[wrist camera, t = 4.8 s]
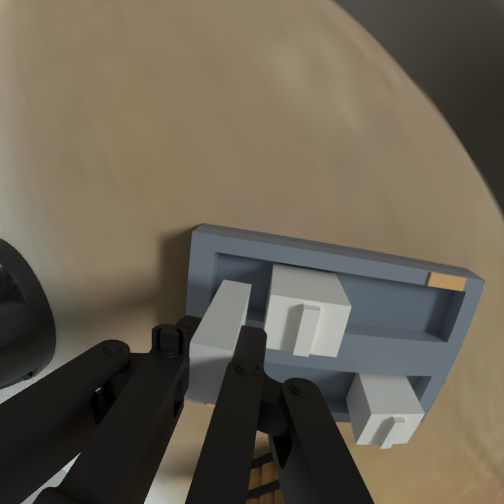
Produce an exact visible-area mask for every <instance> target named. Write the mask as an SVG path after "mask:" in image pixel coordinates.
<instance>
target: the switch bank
mask: <svg viewBox="0 0 504 504" xmlns="http://www.w3.org/2000/svg"><path fill="white" fill-rule="evenodd" d="M273 264H279V265H286V266H292V267H298V268H304V269H311V270H317V271H323V272H329V273H336V275H337V277H338V279H339V281H340V283H341V285H342V287H343V289H344V292H345V294H346V296H347V298H348V300H349V302H350V304H351V306H352V307H351V310H350V314H349V317H348V321H347V324H346V328H345V331H344V334H343V338H342V341H341V344H340V347H339V351H338V354H337V357H330V356H321V355H312V354H309V357H305V356H297V355H293V352H290V351H283V350H276V349H269V348H266V351H265V360H264V371H265V373H266V374H267V375H268V376H269V377H270V378H272V379H274V380H276V381H278V382H281V383H284V381H285V380H287V379H289V378H295V377H297V378H304V379H307V380H310V381H312V382H313V383H315V384H316V385H317V387H318V388H319V390H320V392H321V394H322V396H323V398H324V400H325V402H326V404H327V406H328V408H329V410H330V412H331V415H332V417H333V419H334V421H335V422H351V420H350V415H349V411H348V407H347V402H346V397H347V395H348V392H349V390H350V387H351V384H352V382H353V379H354V377H355V374H356V373H369V374H385V375H406V377H407V379H408V381H409V383H410V385H411V387H412V389H413V391H414V393H415V395H416V397H417V399H418V401H419V403H420V405H421V407H422V409H423V411H424V413H425V414H424V416H423V418H422V419H421V421H420V422H423V420H424V418H425V417H426V415H427V413H428V411H429V410H430V408H431V406H432V404H433V402H434V401H435V399H436V397H437V395H438V393H439V391H440V389H441V387H442V385H443V384H444V382H445V380H446V378H447V376H448V373H449V371H450V369H451V367H452V365H453V363H454V361H455V359H456V356H457V354H458V352H459V350H460V347H461V345H462V343H463V340H464V338H465V336H466V333H467V331H468V328H469V326H470V323H471V320H472V318H473V315H474V312H475V310H476V307H477V304H478V301H479V298H480V295H481V292H482V289H483V286H484V283H485V280H484V279H482V278H481V277H479V276H477V275H476V274H474V273H473V272H471V271H470V270H468V269H465V268H460V267H455V266H450V265H444V264H439V263H434V262H429V261H423V260H418V259H412V258H407V257H402V256H396V255H391V254H385V253H380V252H374V251H368V250H363V249H357V248H351V247H345V246H340V245H334V244H328V243H322V242H316V241H310V240H304V239H298V238H292V237H286V236H280V235H274V234H268V233H262V232H255V231H249V230H243V229H236V228H230V227H223V226H217V225H210V224H204V223H203V224H201V225H200V226H199V227H197V228H196V229H195V230H193V231H192V239H191V249H190V260H189V272H188V285H187V298H186V313H185V316H186V315H190V316H194V317H199V318H203V317H204V315H205V313H206V312H207V310H208V308H209V306H210V304H211V302H212V300H213V299H214V297H215V295H216V293H217V291H218V289H219V287H220V286H221V284H222V282H223V280H229V281H235V282H240V283H246V284H252V285H251V291H250V298H249V304H248V310H247V316H246V323H245V326H251V327H256V328H262V329H263V327H264V319H265V310H266V303H267V297H268V292H269V286H270V280H271V275H272V269H273ZM184 400H188V401H192V402H196V403H201V404H206V405H207V406H209V407H214V408H215V405H213V404H209V403H204V402H200V401H195V400H191V399H187V392H186V394H185V396H184Z"/></svg>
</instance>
